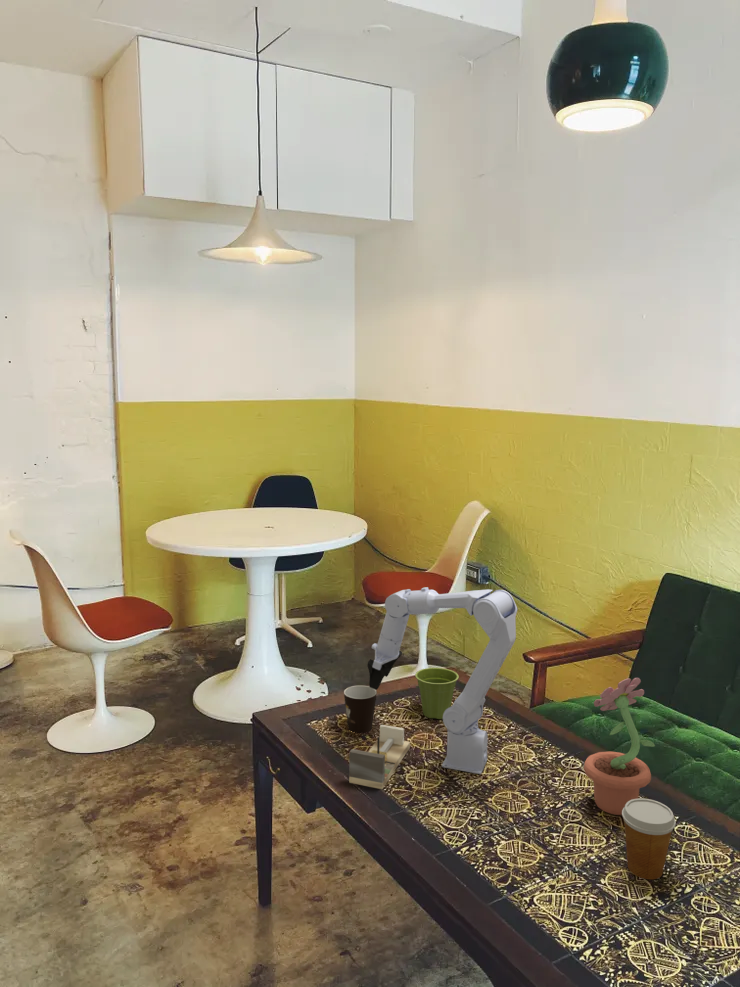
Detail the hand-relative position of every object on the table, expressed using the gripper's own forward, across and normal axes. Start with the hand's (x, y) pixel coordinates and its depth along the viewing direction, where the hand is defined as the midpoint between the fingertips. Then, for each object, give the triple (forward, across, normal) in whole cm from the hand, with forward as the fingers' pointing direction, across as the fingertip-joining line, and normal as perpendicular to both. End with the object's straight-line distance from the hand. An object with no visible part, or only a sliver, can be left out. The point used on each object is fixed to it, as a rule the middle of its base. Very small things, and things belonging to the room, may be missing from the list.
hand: (378, 681), depth 197 cm
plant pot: (+13, -17, +14) cm, 26 cm away
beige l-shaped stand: (+12, +14, +9) cm, 21 cm away
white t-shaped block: (+10, +10, +9) cm, 17 cm away
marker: (+10, +16, +10) cm, 21 cm away
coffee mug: (+17, -3, -2) cm, 17 cm away
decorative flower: (-3, +13, +61) cm, 63 cm away
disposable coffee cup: (-6, +34, +67) cm, 75 cm away
